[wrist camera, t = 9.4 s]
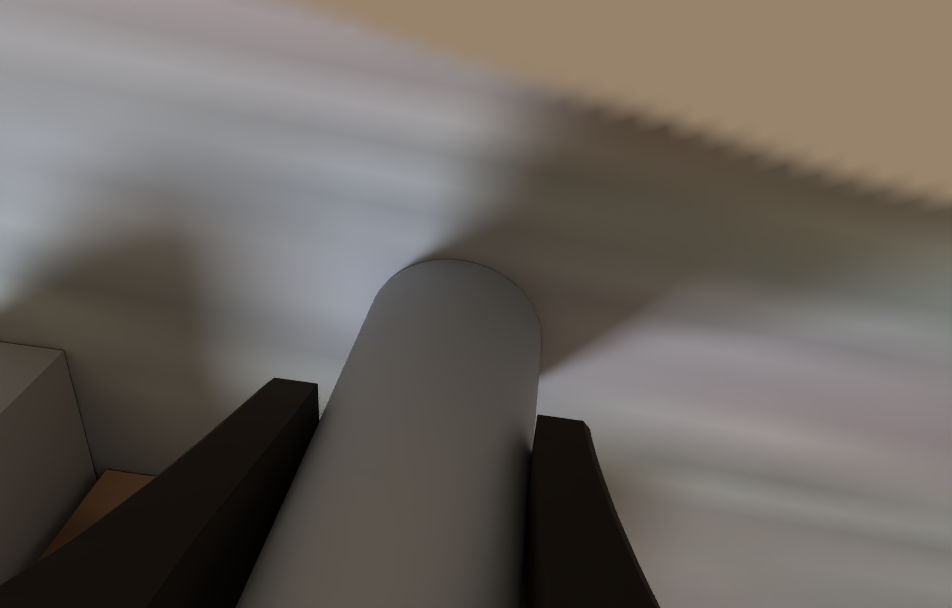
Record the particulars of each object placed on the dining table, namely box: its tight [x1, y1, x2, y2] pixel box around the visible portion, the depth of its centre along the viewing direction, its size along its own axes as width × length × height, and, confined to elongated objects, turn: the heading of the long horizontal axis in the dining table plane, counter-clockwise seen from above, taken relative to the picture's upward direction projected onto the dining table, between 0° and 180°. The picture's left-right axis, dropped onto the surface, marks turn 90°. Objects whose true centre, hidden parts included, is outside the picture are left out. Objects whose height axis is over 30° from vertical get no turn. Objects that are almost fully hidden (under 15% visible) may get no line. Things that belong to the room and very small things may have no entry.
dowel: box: [236, 259, 542, 608], centre depth 9 cm, size 3×3×9 cm
